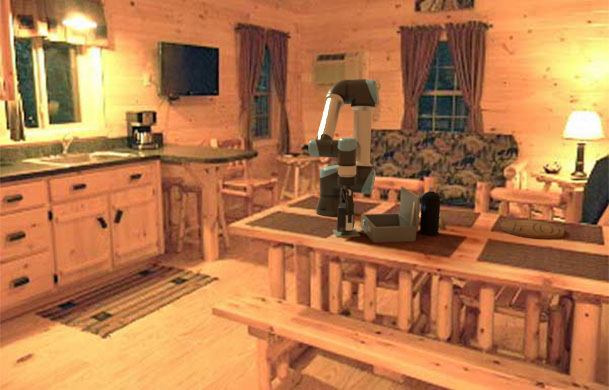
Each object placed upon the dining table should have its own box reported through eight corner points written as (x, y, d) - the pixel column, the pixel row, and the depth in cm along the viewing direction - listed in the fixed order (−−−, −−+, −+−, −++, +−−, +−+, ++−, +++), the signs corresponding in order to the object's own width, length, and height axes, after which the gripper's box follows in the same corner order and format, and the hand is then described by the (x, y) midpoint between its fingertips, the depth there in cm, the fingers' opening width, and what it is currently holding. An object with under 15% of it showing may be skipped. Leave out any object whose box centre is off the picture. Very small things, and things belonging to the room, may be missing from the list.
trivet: (501, 236, 213) (501, 232, 213) (500, 222, 236) (501, 218, 236) (567, 242, 205) (568, 238, 204) (560, 226, 228) (561, 222, 227)
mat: (332, 230, 221) (332, 229, 221) (355, 229, 223) (355, 228, 222) (336, 237, 212) (336, 236, 212) (360, 236, 213) (360, 235, 213)
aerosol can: (439, 231, 220) (442, 185, 216) (438, 236, 212) (440, 189, 208) (420, 229, 222) (422, 184, 218) (418, 234, 215) (420, 188, 211)
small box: (352, 233, 211) (352, 208, 209) (336, 232, 212) (336, 207, 210) (355, 226, 221) (355, 202, 219) (340, 225, 222) (340, 201, 220)
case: (359, 227, 226) (360, 187, 222) (401, 226, 228) (402, 186, 224) (372, 242, 204) (373, 198, 201) (417, 240, 206) (419, 197, 203)
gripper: (333, 170, 223) (332, 219, 228) (343, 180, 200) (342, 234, 205) (350, 170, 224) (349, 218, 229) (362, 180, 201) (361, 233, 205)
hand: (346, 226), depth 217 cm, fingers closed on small box, 11 cm apart
